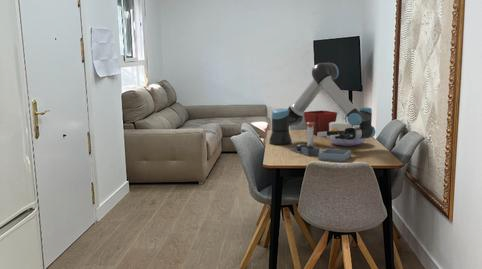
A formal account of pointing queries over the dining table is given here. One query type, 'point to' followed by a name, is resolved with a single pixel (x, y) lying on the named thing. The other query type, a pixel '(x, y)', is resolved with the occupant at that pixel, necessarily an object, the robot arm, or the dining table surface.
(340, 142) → the fruit bowl
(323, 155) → the tray
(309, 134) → the lock pin
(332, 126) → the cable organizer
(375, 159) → the dining table surface
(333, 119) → the plant pot
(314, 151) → the bracket
